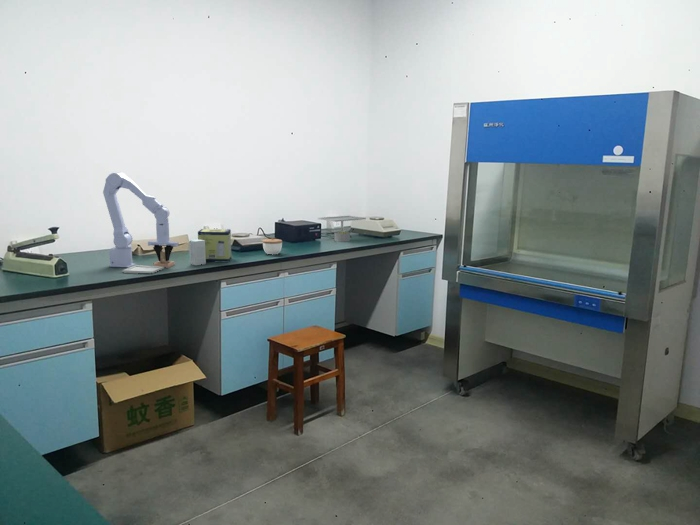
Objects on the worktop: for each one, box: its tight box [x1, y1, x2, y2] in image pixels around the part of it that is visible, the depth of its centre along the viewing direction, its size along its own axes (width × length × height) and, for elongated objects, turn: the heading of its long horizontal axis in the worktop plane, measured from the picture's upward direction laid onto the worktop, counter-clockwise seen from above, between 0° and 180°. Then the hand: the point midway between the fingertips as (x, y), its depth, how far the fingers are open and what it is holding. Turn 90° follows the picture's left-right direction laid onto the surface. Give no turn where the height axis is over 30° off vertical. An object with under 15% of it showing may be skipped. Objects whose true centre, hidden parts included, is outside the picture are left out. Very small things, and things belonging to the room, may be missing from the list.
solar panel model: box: [317, 215, 367, 243], centre depth 367 cm, size 28×17×15 cm, turn 133°
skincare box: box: [189, 239, 207, 266], centre depth 276 cm, size 6×4×12 cm
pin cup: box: [152, 260, 176, 269], centre depth 270 cm, size 7×7×2 cm
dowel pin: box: [160, 250, 167, 264], centre depth 270 cm, size 3×3×7 cm
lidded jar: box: [262, 236, 283, 256], centre depth 310 cm, size 11×11×9 cm
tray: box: [121, 264, 164, 274], centre depth 258 cm, size 14×12×1 cm
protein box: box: [197, 228, 232, 263], centre depth 288 cm, size 10×16×16 cm
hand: (163, 260), depth 270 cm, fingers closed on dowel pin, 3 cm apart
